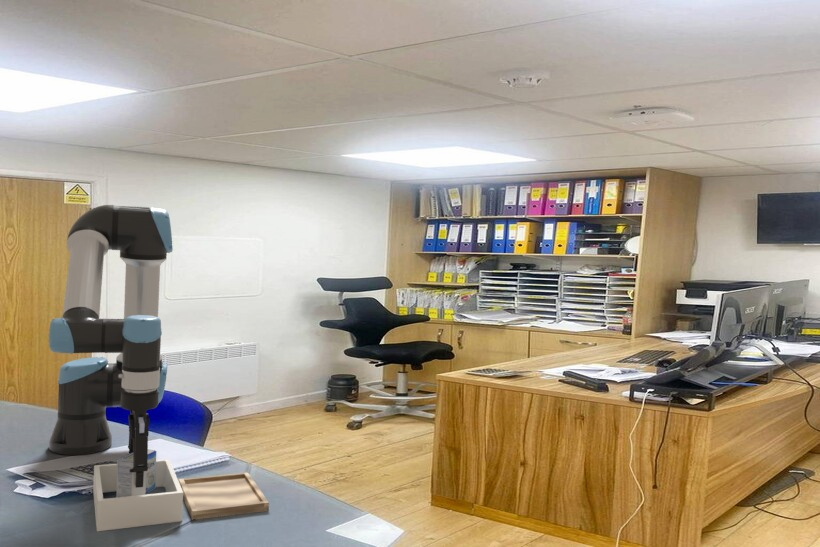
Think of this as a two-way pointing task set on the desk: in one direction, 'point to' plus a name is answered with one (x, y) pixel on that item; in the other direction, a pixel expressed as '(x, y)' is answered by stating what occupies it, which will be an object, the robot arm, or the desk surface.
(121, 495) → the medicine box
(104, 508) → the deep bin
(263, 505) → the oak tray
